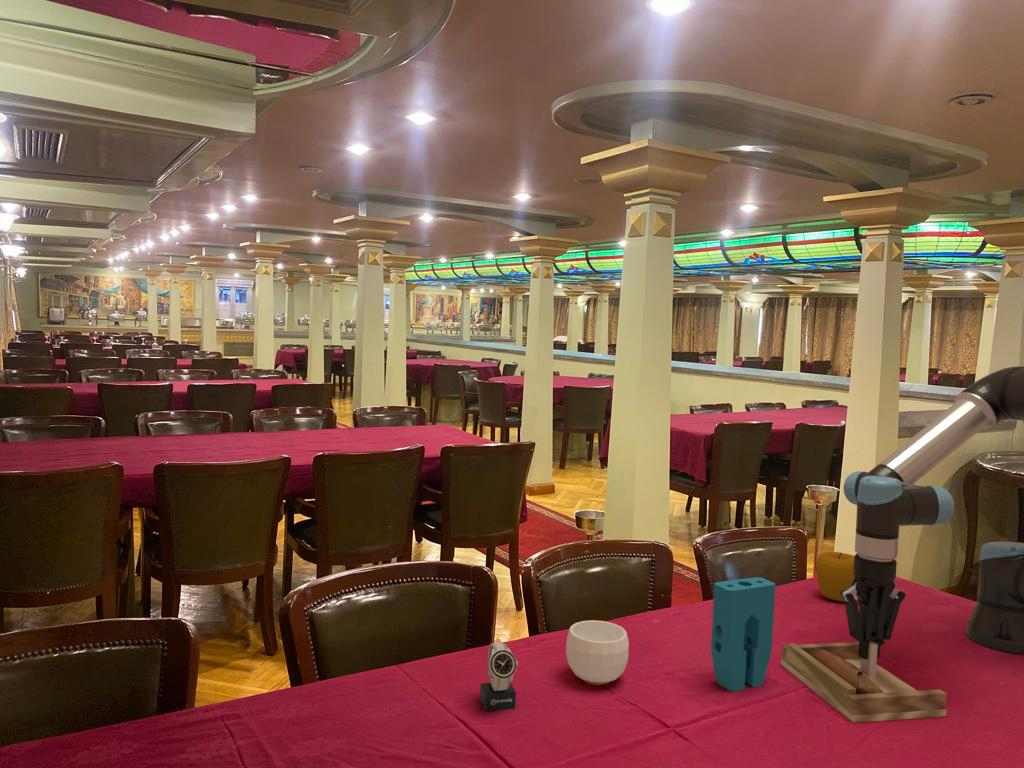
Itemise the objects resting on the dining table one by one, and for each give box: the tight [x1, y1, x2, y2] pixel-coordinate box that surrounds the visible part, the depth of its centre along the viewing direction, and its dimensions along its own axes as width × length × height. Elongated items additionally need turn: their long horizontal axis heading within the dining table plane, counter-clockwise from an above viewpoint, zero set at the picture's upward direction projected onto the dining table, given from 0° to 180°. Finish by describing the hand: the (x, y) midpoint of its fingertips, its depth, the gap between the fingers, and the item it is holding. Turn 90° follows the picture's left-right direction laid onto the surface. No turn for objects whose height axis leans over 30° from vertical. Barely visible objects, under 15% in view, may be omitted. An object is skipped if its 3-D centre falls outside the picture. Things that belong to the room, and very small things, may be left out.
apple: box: [815, 551, 855, 603], centre depth 199 cm, size 11×11×13 cm
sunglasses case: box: [806, 648, 884, 694], centre depth 147 cm, size 18×7×7 cm
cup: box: [565, 619, 630, 686], centre depth 148 cm, size 12×12×10 cm
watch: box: [479, 642, 519, 712], centre depth 136 cm, size 6×8×11 cm
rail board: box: [780, 641, 948, 723], centre depth 147 cm, size 19×24×5 cm
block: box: [710, 576, 776, 692], centre depth 148 cm, size 12×5×20 cm, turn 115°
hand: (867, 674), depth 148 cm, fingers closed
